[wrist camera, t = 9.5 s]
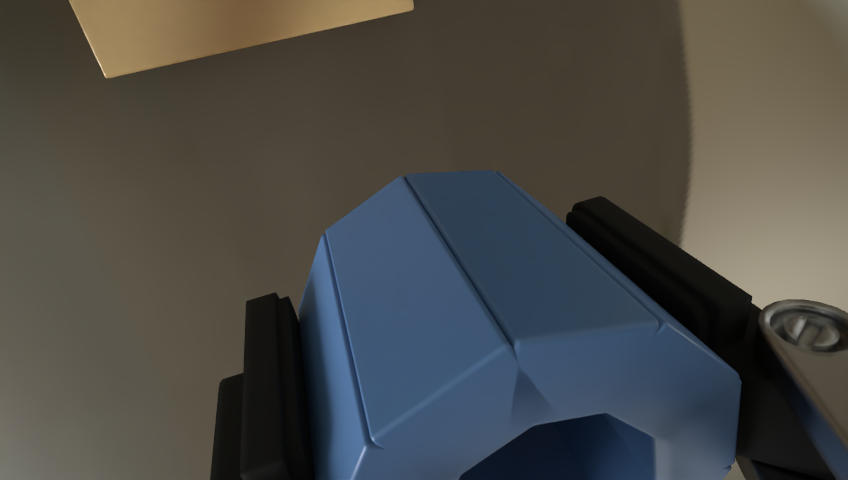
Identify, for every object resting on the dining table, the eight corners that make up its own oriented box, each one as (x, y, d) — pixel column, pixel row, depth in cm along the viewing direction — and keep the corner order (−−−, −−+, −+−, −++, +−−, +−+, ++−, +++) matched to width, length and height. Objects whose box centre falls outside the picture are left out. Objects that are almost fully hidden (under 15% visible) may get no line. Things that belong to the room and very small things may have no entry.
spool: (272, 390, 11) (275, 661, 7) (354, 128, 9) (436, 277, 5) (498, 411, 13) (610, 627, 9) (607, 203, 11) (822, 354, 7)
